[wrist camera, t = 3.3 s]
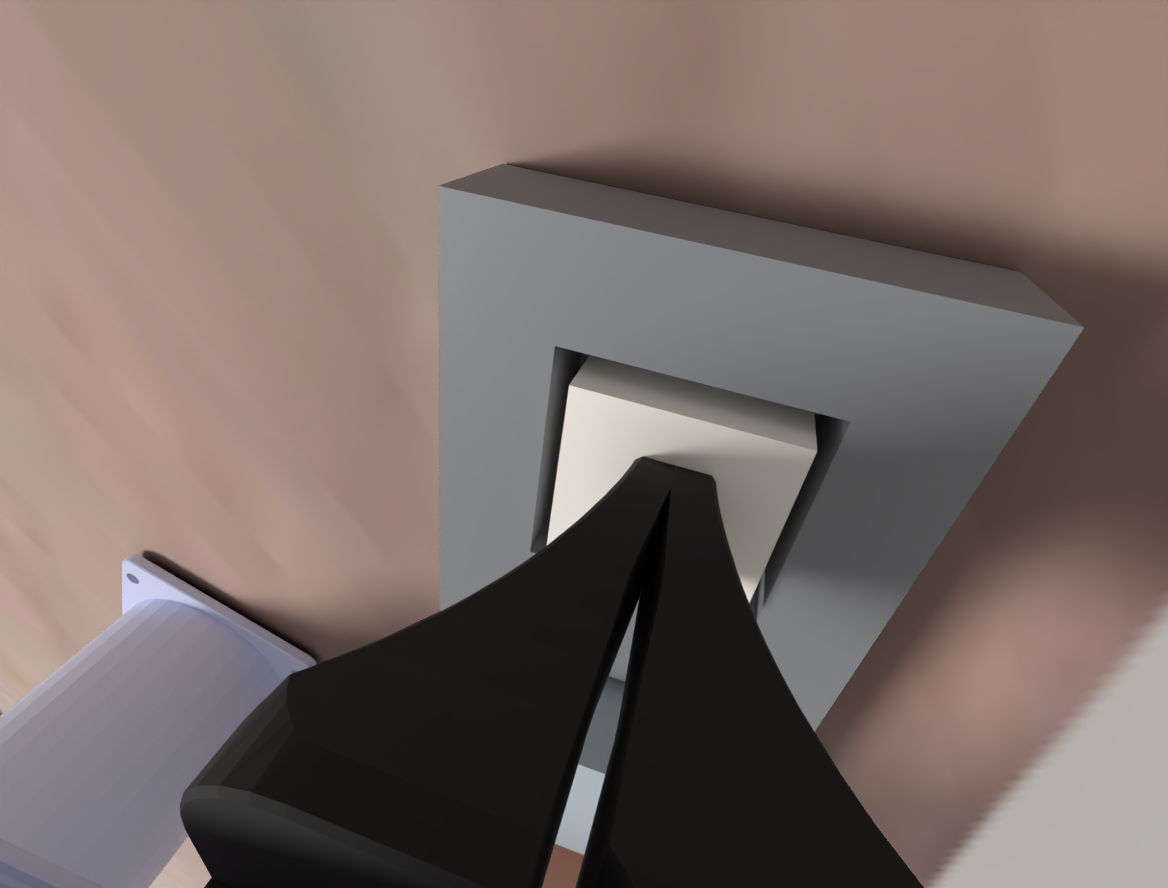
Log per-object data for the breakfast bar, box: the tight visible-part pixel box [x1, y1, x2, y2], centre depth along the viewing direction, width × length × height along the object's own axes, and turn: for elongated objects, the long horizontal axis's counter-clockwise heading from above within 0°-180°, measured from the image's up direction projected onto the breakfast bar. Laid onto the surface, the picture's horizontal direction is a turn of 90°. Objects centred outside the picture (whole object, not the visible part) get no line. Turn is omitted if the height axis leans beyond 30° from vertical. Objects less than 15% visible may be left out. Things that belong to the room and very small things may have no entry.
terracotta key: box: [542, 844, 584, 888], centre depth 19 cm, size 4×4×2 cm
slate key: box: [555, 676, 625, 855], centre depth 15 cm, size 4×4×2 cm
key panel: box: [439, 164, 1084, 732], centre depth 16 cm, size 25×9×2 cm, turn 171°
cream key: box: [547, 355, 817, 603], centre depth 11 cm, size 4×4×2 cm
